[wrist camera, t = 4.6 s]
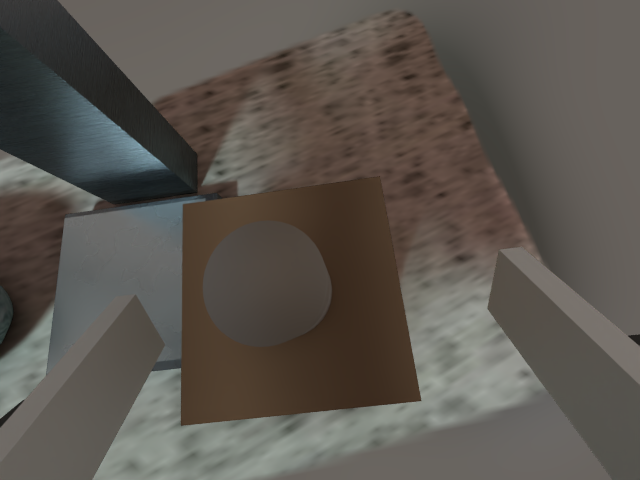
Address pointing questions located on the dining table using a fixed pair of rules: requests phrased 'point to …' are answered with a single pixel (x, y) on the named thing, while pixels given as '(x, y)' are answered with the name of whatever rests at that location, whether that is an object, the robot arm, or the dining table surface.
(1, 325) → the blue grey streaked ovoid
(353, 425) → the dining table surface
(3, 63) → the press
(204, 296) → the brown bottle
